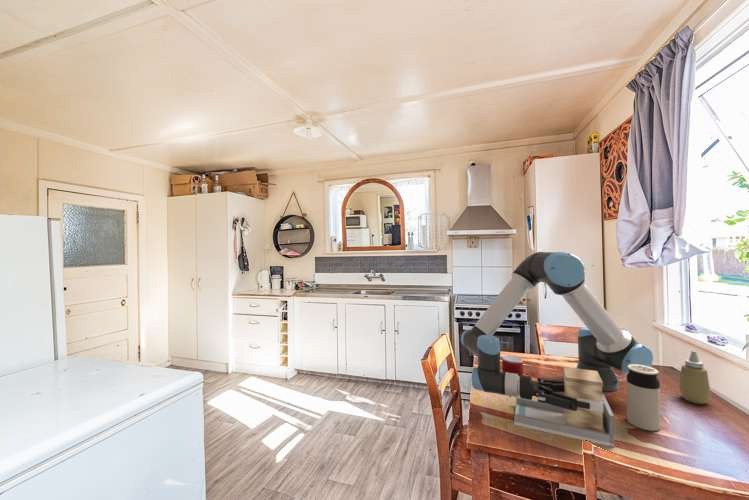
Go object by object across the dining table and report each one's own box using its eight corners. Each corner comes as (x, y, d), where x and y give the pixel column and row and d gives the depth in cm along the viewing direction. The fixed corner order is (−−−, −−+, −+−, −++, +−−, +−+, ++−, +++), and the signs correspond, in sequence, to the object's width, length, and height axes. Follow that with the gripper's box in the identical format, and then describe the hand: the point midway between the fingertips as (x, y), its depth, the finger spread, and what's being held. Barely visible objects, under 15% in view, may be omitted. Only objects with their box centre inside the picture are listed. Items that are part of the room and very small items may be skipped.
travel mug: (663, 434, 93) (662, 375, 93) (629, 427, 97) (628, 370, 97) (656, 421, 100) (656, 366, 100) (625, 415, 104) (624, 362, 104)
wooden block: (597, 420, 99) (597, 371, 99) (603, 436, 91) (603, 382, 91) (563, 413, 103) (563, 366, 103) (566, 428, 95) (565, 377, 95)
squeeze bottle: (703, 397, 115) (702, 349, 114) (716, 408, 107) (715, 356, 107) (674, 393, 118) (674, 346, 118) (685, 403, 111) (684, 353, 111)
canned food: (525, 389, 124) (525, 362, 124) (504, 388, 126) (504, 361, 125) (520, 381, 131) (520, 355, 131) (500, 379, 133) (500, 354, 133)
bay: (604, 422, 100) (604, 394, 100) (614, 447, 88) (613, 415, 88) (516, 404, 112) (516, 380, 112) (514, 424, 100) (513, 397, 100)
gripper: (520, 384, 115) (593, 396, 105) (518, 412, 96) (607, 430, 85) (520, 364, 115) (593, 374, 105) (517, 388, 95) (607, 404, 85)
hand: (599, 399), depth 95 cm, fingers closed on wooden block, 9 cm apart
